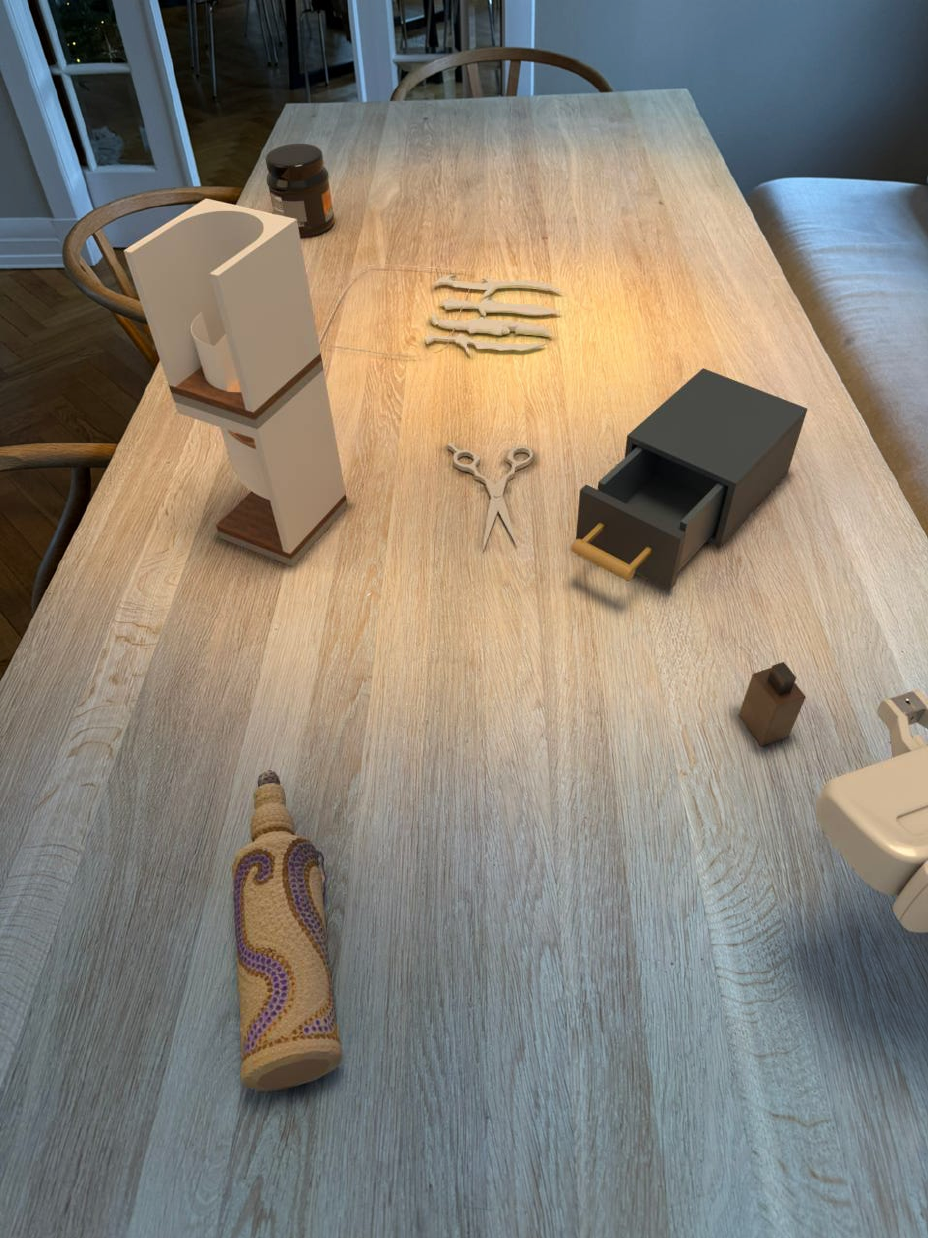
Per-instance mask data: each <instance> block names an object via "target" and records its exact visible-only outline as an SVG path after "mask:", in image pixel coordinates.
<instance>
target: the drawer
mask: <svg viewBox="0 0 928 1238" xmlns="http://www.w3.org/2000/svg"><path fill="white" fill-rule="evenodd" d="M727 490H728V486H727V485H724V484H722V483H720V482H718V481H716V480H713V479H711V478H709V477H707V476H704V475H702V474H700V473H698V472H695V471H693V470H691V469H689V468H686V467H684V466H682V465H680V464H678V463H675V462H673V461H671V460H669V459H666V458H664V457H662V456H660V455H657V454H655V453H653V452H651V451H649V450H646V449H644V448H642V447H640V446H637V447H636V448H635V449H634V450H633V451H632V452H631V453H630V454H629V455H627V456H626V457H625V456H624V458H623V459H622V460H621V461H619V463H617V464H616V465H615V466H614V467H613V468H612V469H611V470H609V472H607V473H606V474H605V475H604V476H603V477H602V478H601V479H600V480H599V481H598V484H597V488H594V487H593V486H591V485H589V484H585V485H583V486H582V487H581V488H580V489H579V498H578V509H577V522H576V534H575V540H574V542H573V543H572V545H571V552H572V553H573V554H575V555H577V556H579V557H581V558H583V559H585V560H587V561H588V562H590V563H593V564H594V565H596V566H597V567H600V568H602V569H604V570H606V571H608V572H609V573H612V574H613V575H615V576H617V577H619V578H621V579H622V580H625V581H627V582H629V581H631V580H632V578H633V577H634V576H635V574H636V575H638V576H639V577H642V578H644V579H646V580H648V581H650V582H652V583H654V584H655V585H657V586H659V587H661V588H663V589H665V590H667V591H668V592H670V591H671V590H673V588H674V587H675V586H676V583H677V579H678V574H679V572H680V570H681V569H682V568H683V567H684V566H685V565H686V564H687V563H688V561H690V560H691V558H692V557H693V556H694V555H695V554H696V553H697V552H698V551H699V550H700V549H701V547H703V546H704V545H705V543H707V542H706V541H707V540H708V539H709V538H710V537H711V536H712V535H713V533H714V532H715V531H716V530H717V529H718V526H719V522H720V518H721V514H722V510H723V506H724V502H725V498H726V494H727Z"/></svg>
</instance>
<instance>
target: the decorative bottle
mask: <svg viewBox="0 0 928 1238" xmlns="http://www.w3.org/2000/svg"><path fill="white" fill-rule="evenodd" d="M253 801H254V802H253V807H254V811H253V813H252V816H251V820H250V824H249V830H250V831H249V832H250V833H249V834H250V839H251V841H252V842H251V843H248V844H247V845H245V846H244V847H242V848H241V849H240V850H239V849H238V852H237V853H236V854H235V856H234V859H233V862H232V864H231V874H232V886H233V891H232V895H233V898H232V899H233V906H234V907H233V909H234V910H233V911H234V915H233V917H234V933H235V940H236V941H235V949H236V950H235V951H236V967H237V990H238V1000H239V1001H238V1002H239V1021H240V1024H239V1030H240V1049H241V1054H240V1059H241V1065H240V1071H239V1073H240V1079H241V1082H240V1083H241V1084H242V1085H243V1086H245V1088H247V1089H251V1090H254V1091H262V1092H267V1091H279V1090H289V1089H291V1088H293V1087H297V1086H300V1085H305V1084H307V1083H311V1082H314V1081H316V1080H318V1079H320V1078H322V1077H323V1076H326V1075H327V1074H329V1073H331V1072H333V1071H334V1070H336V1069H337V1068H338V1067H339V1066H340V1065H341V1064H342V1060H343V1053H344V1050H343V1047H342V1044H341V1042H340V1038H341V1036H340V1028H339V1025H338V1023H337V1014H336V1013H337V1011H336V999H335V992H334V985H333V979H332V978H333V977H332V974H331V965H330V955H329V947H328V937H327V936H328V934H327V933H328V932H327V925H326V918H325V907H324V900H325V895H326V894H325V893H326V885H325V884H326V881H327V876H326V872H325V866H324V865H325V864H324V862H325V857H324V855H323V854H322V852H321V851H319V850H317V848H316V846H315V845H314V843H313V842H312V841H310V840H309V839H307V838H304V837H302V836H299V835H296V831H295V823H294V818H293V816H292V814H291V812H290V810H289V809H288V808H287V796H286V791H285V788H284V787H283V785H281V780H280V777H279V775H278V774H277V772H276V771H274V770H272V769H267V770H266V771H264V772H263V773H262V774H259V776H258V779H257V787H256V788H255V790H254V794H253ZM319 857H320V858H321V860H319ZM320 866H321V867H320Z"/></svg>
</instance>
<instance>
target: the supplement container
mask: <svg viewBox="0 0 928 1238" xmlns="http://www.w3.org/2000/svg"><path fill="white" fill-rule="evenodd" d="M265 164H266V169H267V172H268V173H267V175H266V185H267V187H268V191H269V195H270V201H271V206H272V211H273V214H276V215H281V216H285V217H289V218H294V219H297V223H298V229H299V234H300V238H305V237H313V236H317V235H319V234H322V233H324V232H326V231H328V229H330V228H331V226H332V225H333V224H334V221H335V213H334V207H333V202H332V194H331V187H330V181H329V179H330V178H329V177H330V176H329V171H328V169H327V168H326V167H325V166H324V165H325V162H324V155H323V151H322V150H321V148H319V147H318V146H316V145H313V144H308V143H289V144H285V145H281V146H278V147H274V148H273V149H271V150H270V151H269V152H268V153H267V154H266V156H265Z"/></svg>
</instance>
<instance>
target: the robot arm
mask: <svg viewBox="0 0 928 1238" xmlns="http://www.w3.org/2000/svg"><path fill="white" fill-rule="evenodd" d="M876 713H877V716H878V717H879V719H880V720H881V722H882V723H883V724H884V725H885V726H886V727H887V729H888V730H889V739H890V747H891V748H890V749H891V755H892V757H890V758H887V759H884V760H881V761H879V762H876V763H873V764H870V765H867V766H864V767H862V768H861V767H860V768H858V769H856V770H853V771H849V772H847V773H844V774H842V775H839V776H836V777H833V778H831V779H829V780H827V782H826V784H825V785H824V787H823V789H822V791H821V793H820V795H819V797H818V800H817V802H816V808H815V809H816V810H815V817H816V820H817V822H818V824H819V826H820V828H821V829H822V831H823V832H824V834H825V835H826V837H827V838H828V839H829V841H830V843H831V844H832V845H833V846H834V847H835V849H836V850H837V851H838V853H839V854H840V855H841V857H842V858H844V860H845V862H846V863H847V864H848V865H849V866H850V867H851V869H853V871H854V872H855V873H856V875H858V876H859V878H860V879H862V881H863V882H865V883H866V884H867V885H868V886H869V887H871V888H872V889H873V890H875V891H877V892H878V893H881V894H884V895H887V896H894V897H896V899H895V901H894V903H893V906H892V911H893V913H894V916H895V918H896V919H897V920H898V922H899V923H900V925H901V927H903V928H904V930H907V931H909V932H912V933H928V743H927V742H926V740H925V739H924V738H923V737H922V736H921V734H914V735H912V732H911V728H910V726H911V725H915V724H919V725H920V726H921V727H924V728H925V729H927V730H928V698H927V696H926V695H925V694H924V693H923V692H922V691H921V690H920V689H913V690H909V691H908V692H905V693H902V694H900V695H896V696H893V697H890V698H887V699H885V700H884V699H883V700H881V702H880V704H879V705H878V707H877V709H876Z"/></svg>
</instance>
